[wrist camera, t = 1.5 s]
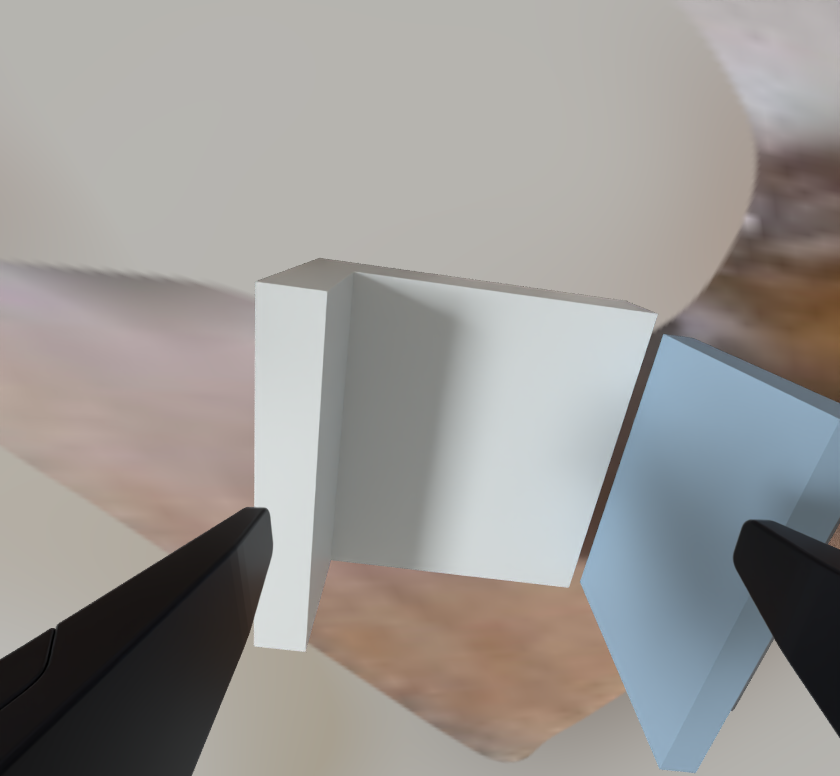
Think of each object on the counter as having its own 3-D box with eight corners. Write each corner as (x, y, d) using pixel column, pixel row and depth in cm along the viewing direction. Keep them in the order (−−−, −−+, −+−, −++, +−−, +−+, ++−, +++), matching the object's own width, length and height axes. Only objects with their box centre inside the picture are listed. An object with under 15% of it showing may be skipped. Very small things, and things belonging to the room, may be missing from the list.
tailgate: (717, 341, 18) (932, 432, 10) (623, 587, 22) (725, 775, 15) (663, 333, 18) (840, 419, 10) (580, 581, 22) (659, 769, 14)
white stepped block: (626, 300, 20) (742, 348, 13) (552, 546, 25) (606, 684, 18) (319, 257, 20) (255, 281, 12) (305, 517, 25) (253, 646, 17)
